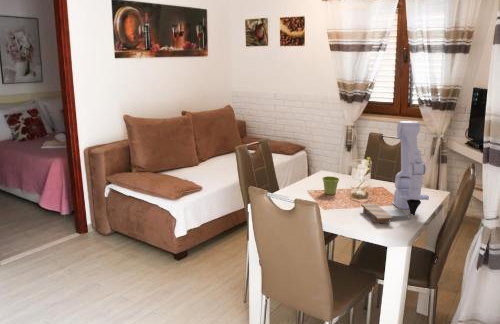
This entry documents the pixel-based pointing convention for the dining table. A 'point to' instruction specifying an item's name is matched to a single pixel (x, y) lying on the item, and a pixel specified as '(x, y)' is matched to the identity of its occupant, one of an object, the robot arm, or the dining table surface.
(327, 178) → the plant pot
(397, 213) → the grey shell
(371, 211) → the walnut shelf
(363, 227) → the dining table surface
